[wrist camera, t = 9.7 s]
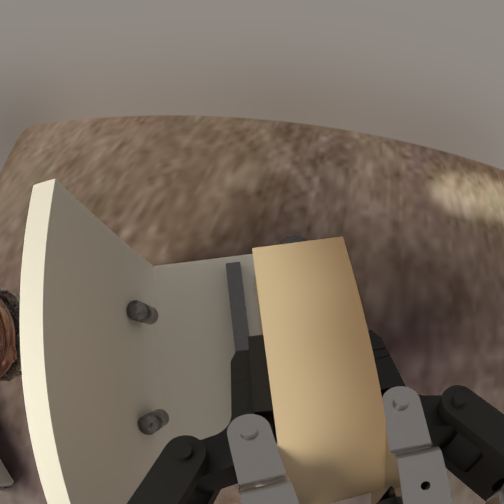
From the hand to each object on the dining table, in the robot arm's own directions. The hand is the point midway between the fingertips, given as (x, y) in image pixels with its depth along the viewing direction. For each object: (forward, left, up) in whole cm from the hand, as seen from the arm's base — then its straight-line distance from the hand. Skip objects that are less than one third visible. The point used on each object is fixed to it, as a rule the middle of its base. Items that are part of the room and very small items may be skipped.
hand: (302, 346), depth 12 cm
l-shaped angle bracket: (-3, -1, -16) cm, 17 cm away
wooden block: (0, -3, -6) cm, 7 cm away
